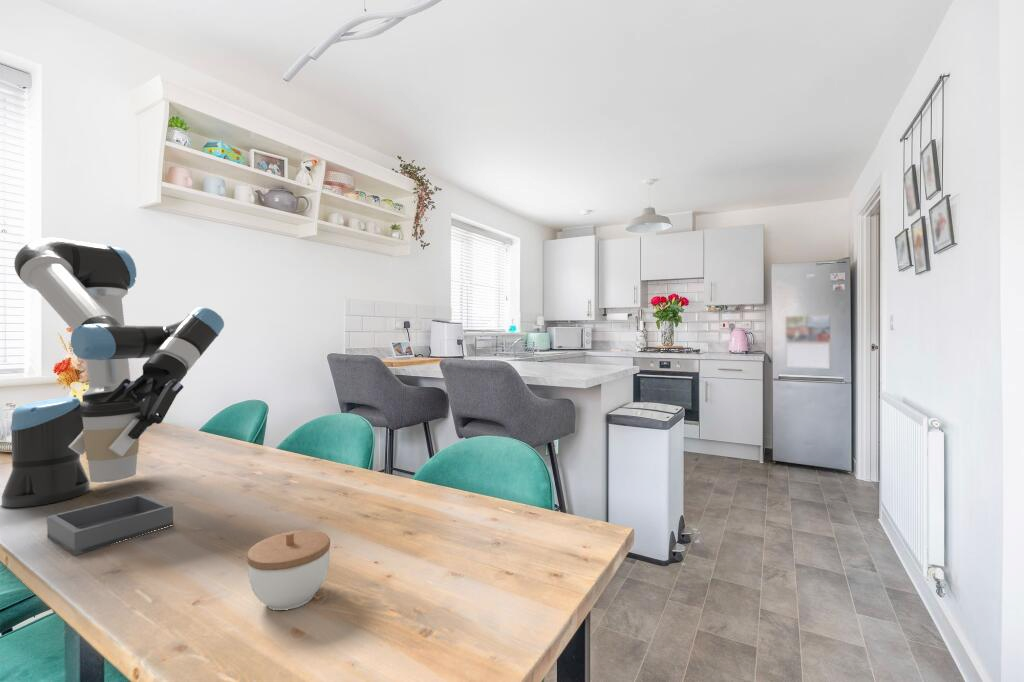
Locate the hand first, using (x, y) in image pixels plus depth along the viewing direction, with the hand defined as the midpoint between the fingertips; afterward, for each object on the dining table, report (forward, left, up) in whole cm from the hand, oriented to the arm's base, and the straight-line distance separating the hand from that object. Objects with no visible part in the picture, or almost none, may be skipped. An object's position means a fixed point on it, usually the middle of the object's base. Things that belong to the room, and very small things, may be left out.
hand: (95, 451), depth 89 cm
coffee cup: (-1, +3, -6) cm, 7 cm away
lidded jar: (+51, +7, -17) cm, 54 cm away
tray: (-2, +3, -16) cm, 17 cm away
